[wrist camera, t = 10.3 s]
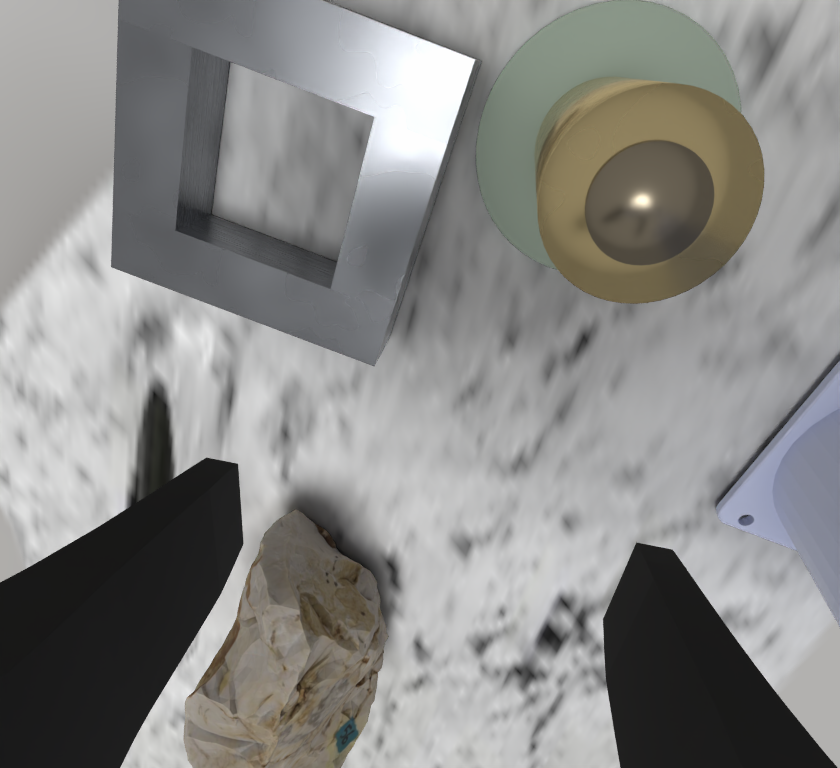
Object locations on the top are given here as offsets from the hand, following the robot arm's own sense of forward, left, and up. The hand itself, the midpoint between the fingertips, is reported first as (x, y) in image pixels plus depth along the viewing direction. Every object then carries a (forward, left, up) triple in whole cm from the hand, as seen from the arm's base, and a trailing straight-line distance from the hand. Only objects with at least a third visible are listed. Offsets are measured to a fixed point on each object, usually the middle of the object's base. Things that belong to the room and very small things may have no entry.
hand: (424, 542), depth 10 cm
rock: (+1, +16, -11) cm, 19 cm away
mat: (-1, -6, -10) cm, 12 cm away
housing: (+7, -3, -10) cm, 13 cm away
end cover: (-1, -6, -10) cm, 12 cm away
